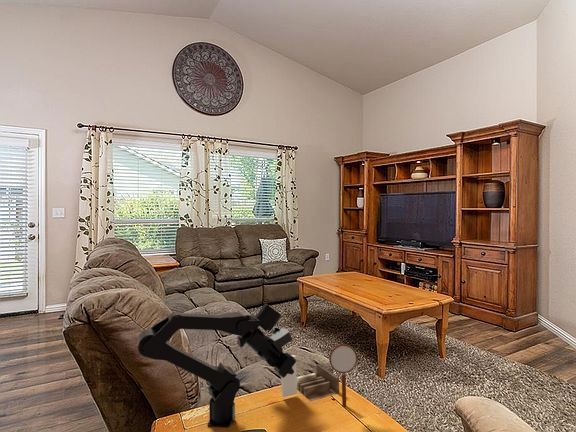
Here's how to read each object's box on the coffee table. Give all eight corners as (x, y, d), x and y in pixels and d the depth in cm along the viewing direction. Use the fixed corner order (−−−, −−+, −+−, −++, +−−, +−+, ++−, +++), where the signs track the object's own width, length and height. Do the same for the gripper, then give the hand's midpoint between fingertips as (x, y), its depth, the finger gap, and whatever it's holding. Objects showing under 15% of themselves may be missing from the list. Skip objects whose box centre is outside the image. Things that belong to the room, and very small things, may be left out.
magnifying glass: (357, 408, 105) (356, 342, 106) (359, 411, 103) (357, 344, 104) (329, 410, 104) (328, 343, 105) (330, 413, 103) (329, 345, 103)
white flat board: (283, 397, 108) (281, 359, 108) (281, 395, 109) (280, 358, 109) (297, 393, 110) (295, 356, 110) (295, 392, 111) (294, 354, 111)
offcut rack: (310, 405, 107) (309, 384, 107) (291, 388, 118) (291, 369, 119) (339, 397, 112) (338, 377, 112) (319, 382, 123) (318, 363, 123)
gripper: (289, 329, 100) (322, 361, 104) (265, 315, 117) (294, 343, 121) (265, 361, 96) (299, 392, 101) (243, 342, 113) (274, 369, 117)
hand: (292, 372), depth 110 cm, fingers closed on white flat board, 1 cm apart
